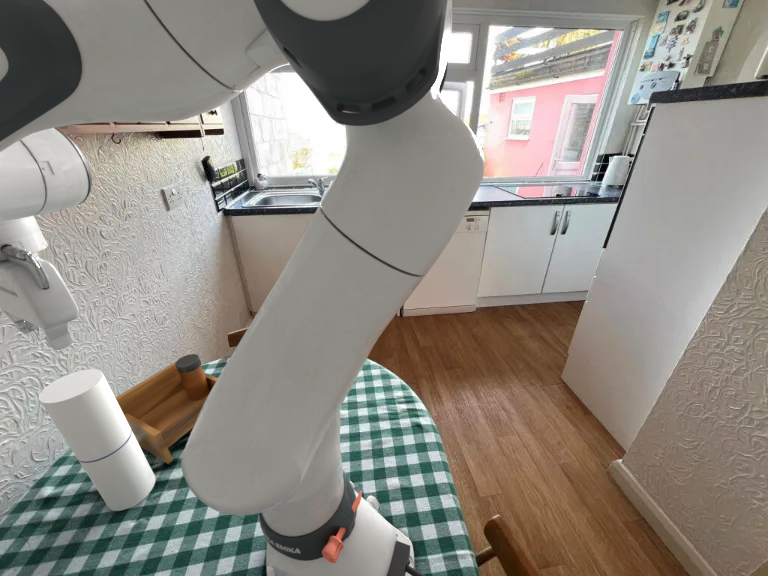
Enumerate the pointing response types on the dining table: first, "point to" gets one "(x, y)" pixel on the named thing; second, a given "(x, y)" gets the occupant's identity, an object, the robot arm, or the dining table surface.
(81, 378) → the cylindrical container
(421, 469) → the dining table surface
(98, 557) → the dining table surface
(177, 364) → the spice rack
